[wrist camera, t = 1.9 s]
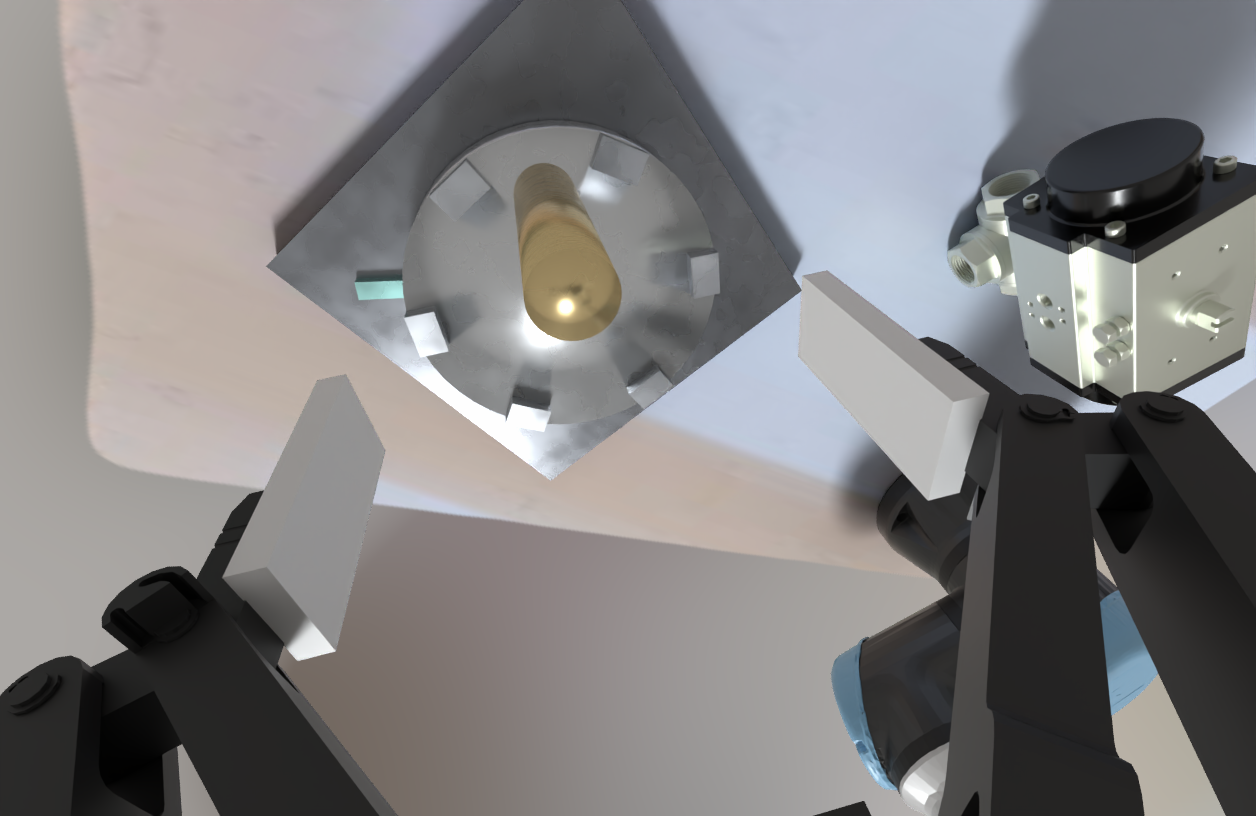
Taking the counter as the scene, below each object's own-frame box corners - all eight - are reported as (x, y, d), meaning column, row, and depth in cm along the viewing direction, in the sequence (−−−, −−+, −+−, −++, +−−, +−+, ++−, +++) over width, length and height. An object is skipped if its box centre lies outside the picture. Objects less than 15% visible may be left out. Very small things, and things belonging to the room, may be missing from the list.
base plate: (790, 280, 45) (805, 293, 43) (548, 465, 50) (551, 485, 48) (578, -57, 30) (584, -63, 28) (276, 255, 36) (263, 269, 34)
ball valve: (915, 164, 41) (1140, 241, 27) (1025, 93, 40) (1324, 133, 25) (959, 338, 51) (1139, 461, 37) (1048, 286, 50) (1270, 393, 36)
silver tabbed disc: (752, 289, 42) (885, 429, 28) (553, 444, 46) (578, 632, 32) (577, 37, 31) (647, 51, 17) (339, 271, 35) (233, 440, 21)
